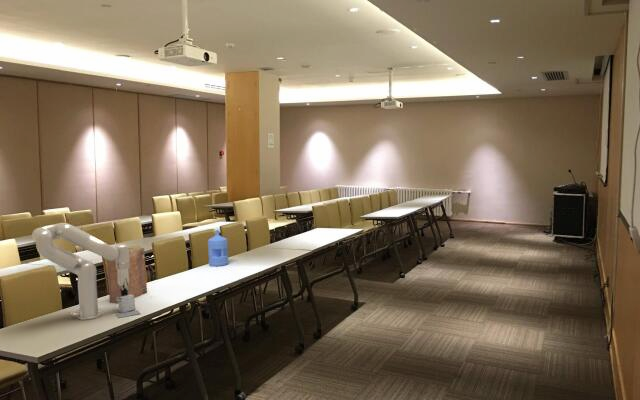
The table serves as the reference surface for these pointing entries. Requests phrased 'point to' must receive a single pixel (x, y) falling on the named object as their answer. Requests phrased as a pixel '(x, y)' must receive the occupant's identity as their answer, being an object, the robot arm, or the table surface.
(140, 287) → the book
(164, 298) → the table surface
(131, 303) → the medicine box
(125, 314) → the slate mat
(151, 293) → the table surface
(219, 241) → the water jug
